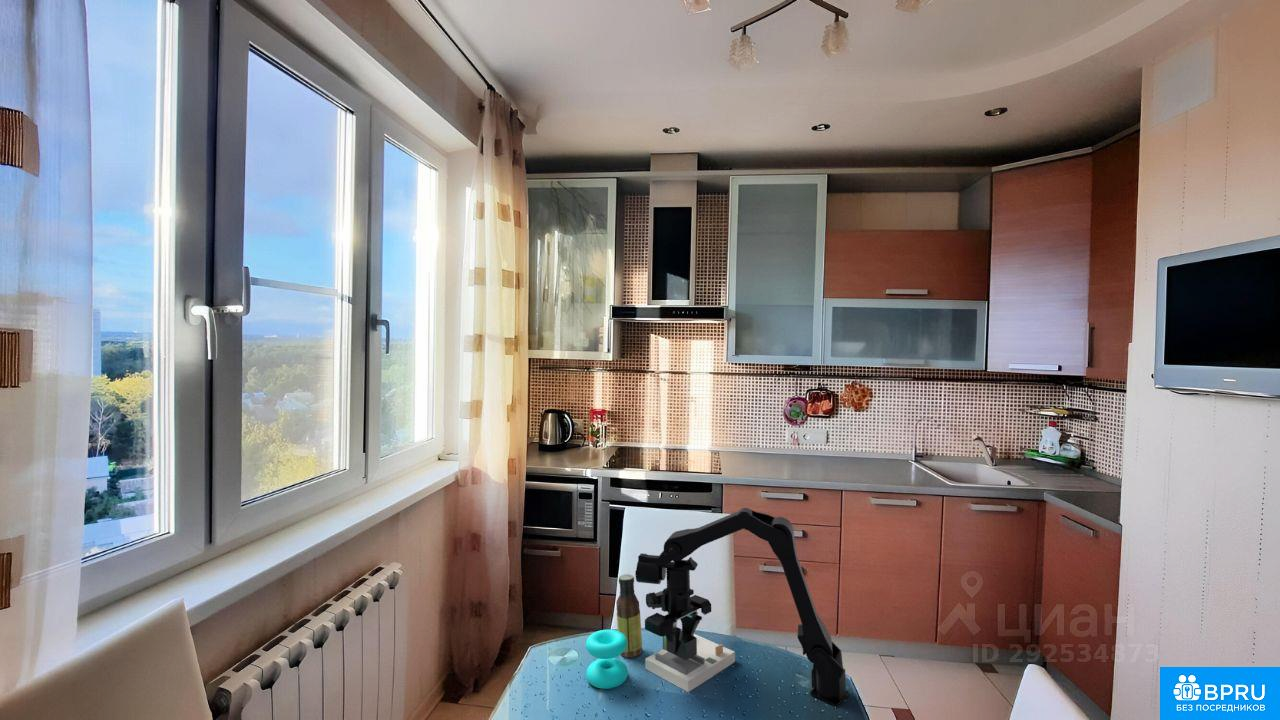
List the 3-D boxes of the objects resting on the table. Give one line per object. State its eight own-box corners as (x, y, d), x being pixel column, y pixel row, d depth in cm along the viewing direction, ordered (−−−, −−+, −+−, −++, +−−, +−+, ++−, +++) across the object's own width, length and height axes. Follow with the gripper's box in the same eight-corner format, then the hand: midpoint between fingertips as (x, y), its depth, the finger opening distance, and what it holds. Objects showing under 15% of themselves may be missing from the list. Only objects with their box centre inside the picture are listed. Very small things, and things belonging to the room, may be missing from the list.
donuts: (634, 632, 131) (613, 651, 122) (635, 673, 131) (614, 695, 122) (599, 624, 136) (577, 642, 127) (600, 664, 136) (578, 684, 127)
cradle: (735, 661, 135) (734, 643, 135) (688, 692, 123) (687, 672, 123) (692, 642, 145) (692, 625, 145) (645, 668, 133) (645, 650, 133)
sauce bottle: (643, 647, 144) (641, 572, 144) (640, 659, 137) (639, 581, 138) (619, 646, 144) (617, 571, 145) (615, 658, 138) (614, 580, 138)
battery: (697, 654, 130) (696, 637, 130) (685, 660, 127) (685, 643, 127) (672, 642, 136) (672, 626, 136) (661, 648, 133) (661, 632, 133)
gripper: (679, 567, 144) (680, 625, 144) (628, 587, 131) (629, 652, 131) (711, 578, 136) (713, 640, 136) (661, 601, 123) (662, 669, 123)
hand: (679, 649), depth 131 cm, fingers closed on battery, 4 cm apart
